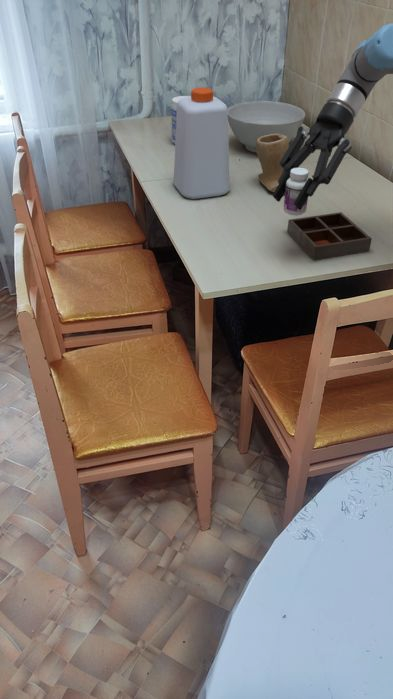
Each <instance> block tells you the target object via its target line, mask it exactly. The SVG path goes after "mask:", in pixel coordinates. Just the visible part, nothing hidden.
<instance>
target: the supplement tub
mask: <svg viewBox="0 0 393 699" xmlns="http://www.w3.org/2000/svg"><path fill="white" fill-rule="evenodd" d="M188 97H191V95H180V96H179V95H178V96H175V97H173V98H172V99H171V141H172V144H174V145H175V141H176V119H177V103H178V101H179V100H180V99H182V98H188Z"/></svg>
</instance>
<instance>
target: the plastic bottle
mask: <svg viewBox="0 0 393 699" xmlns="http://www.w3.org/2000/svg"><path fill="white" fill-rule="evenodd" d="M190 96H191V97H188V98H182V99H180V100H179V101H178V103H177V119H176V141H175V144H174V164H173V184H174V186H175V188H176V189H177V190H178V191H179V193H180V194H181V195H182V196H183V197H185V199H190V200H198V199H199V200H200V199H205V198H212V197H219V196H224V195H225V194H228V192H229V191H230V186H231V185H230V154H229V152H230V150H229V122H228V106H227V104H225V103H224V102H223V101H222V100H221V99H220V98H218V97H216V96H214V90H213V89H212V88H209V87H196V88H195V87H194V88H193V89H192V90H191V91H190Z"/></svg>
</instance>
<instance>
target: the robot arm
mask: <svg viewBox="0 0 393 699" xmlns="http://www.w3.org/2000/svg"><path fill="white" fill-rule="evenodd" d="M387 75H393V22H392V23H388V24H386V25H383V26H382V27H380V29H378V30H377V31H376V32H375V33H373V34H372V35H371V36H370V37H369V39H364V40H363V41H361V42H360V43H359V45H358V46H357V48H356V49H355V51H354V52H353V53H352V55H351V58H350V60H349V62H348V63H347V65H346V67H345V69H344V71H343V72H342V74H341V76H340V78H339V79H338V81H337V82H336V84H335V85H334V86H333V89H332V91H331V92H330V94H329V96H328V97H327V99H326V103H324V105H323V106H322V108H321V110H320V111H319V113H318V115H317V117H316V120H315V122H314V123H313V124H312V125H311V126H310V127H307V128H304V126H303V125H301V126H300V127H299V128H298V131H297V133H296V135H295V136H294V137H293V140H292V141H291V143H290V144H289V148H288V150H287V151H286V153H285V155H284V156H283V158H282V159H281V161H280V165H281V166H282V168H283V169H284V171H283V173H282V175H281V176H280V178H279V180H278V184H279V185H278V187H277V188H276V190H275V192H272V197H273V198H274V200H275V201H276V202H278V203H280V202H281V200H282V198H283V196H285V194H284V193H285V190H286V182H287V180H288V179H289V178H290V172H291V169H293V168H300V167H301V165H302V164H303V163H304V162H305V161H306V159H308V158H309V157H310V156H311V154H314V153H315V152H316V151H317V150H318V151H319V150H320V152H319V156H318V159H317V162H316V166H315V170H314V172H313V175H312V174H311V177H308V178H307V179H308V180H307V182H306V183H305V185H304V187H303V189H302V190H301V192H300V194H299V195H298V197H297V199H296V201H295V202H294V205H295V206H296V207H297V209H299V210H301V209H302V207H303V205H304V203H305V202H306V200H307V198H308V199H309V197H310V198H311V197H312V196H314V195H315V192H316V191H317V189H318V187H319V186H320V185H322V184H324V185H329V184H330V183H331V181H332V180H333V177H334V176H335V174H336V172H337V170H338V168H339V167H340V165H341V163H342V161H343V159H344V158H345V156H346V154H348V153H349V152H350V151H351V150H352V144H351V142H350V140H349V139H347V138H346V139H345V135H347V134H348V131H349V130H350V128H351V126H352V125H353V123H354V122H355V121H354V119H356V118H357V116H358V114H359V112H360V111H361V109H362V107H363V106H364V105H365V102H366V100H367V99H368V97H369V95H370V94H371V92H372V91H373V90H374V88H375V86H376V85H377V83H378V82H380V81H381V80H382V79H383V78H384V77H385V76H387ZM336 147H337V148H336ZM334 148H336V149H335V151H334V153H333V149H334ZM332 153H333V155H332ZM329 158H330V160H329Z"/></svg>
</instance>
